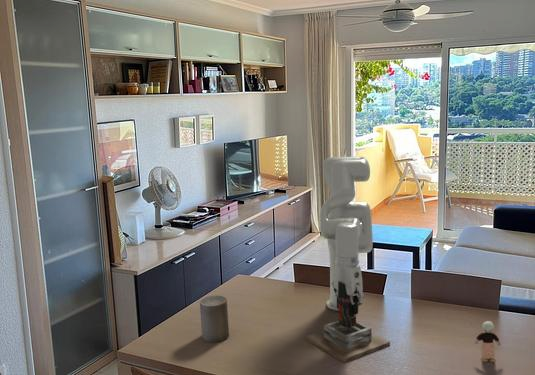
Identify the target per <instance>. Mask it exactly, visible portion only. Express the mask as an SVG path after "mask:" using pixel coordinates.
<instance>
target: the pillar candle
mask: <svg viewBox="0 0 535 375" xmlns="http://www.w3.org/2000/svg"><path fill="white" fill-rule="evenodd" d="M199 310H200V323H201V337H202V339H203V340H204V342H207V343H219V342H223V341H225V340H227V339H229V337H230V332H229V331H230V330H229V329H230V328H229V314H228V300H227V297H225V296H223V295H215V294H214V295H208V296H205V297H202V298H201V299H200V301H199Z"/></svg>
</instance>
